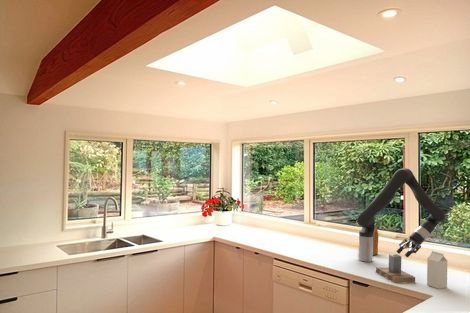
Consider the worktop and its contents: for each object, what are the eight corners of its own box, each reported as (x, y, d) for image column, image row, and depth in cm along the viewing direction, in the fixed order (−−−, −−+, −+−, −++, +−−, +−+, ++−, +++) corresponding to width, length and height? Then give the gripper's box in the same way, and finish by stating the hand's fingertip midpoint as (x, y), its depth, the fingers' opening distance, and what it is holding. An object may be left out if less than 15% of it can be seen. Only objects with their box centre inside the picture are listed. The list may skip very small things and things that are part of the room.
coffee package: (365, 250, 279) (365, 223, 280) (379, 254, 270) (380, 225, 270) (358, 252, 273) (358, 224, 274) (373, 256, 264) (373, 226, 264)
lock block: (388, 270, 216) (388, 253, 217) (396, 270, 217) (396, 253, 217) (393, 273, 212) (393, 255, 212) (401, 273, 212) (401, 255, 212)
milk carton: (438, 289, 195) (439, 254, 195) (426, 284, 201) (427, 251, 202) (447, 287, 198) (447, 253, 198) (435, 283, 204) (436, 250, 204)
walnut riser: (375, 272, 223) (375, 267, 223) (394, 271, 225) (395, 267, 225) (394, 282, 203) (394, 277, 203) (415, 282, 205) (415, 277, 205)
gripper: (408, 229, 223) (391, 247, 222) (423, 233, 209) (404, 253, 208) (416, 237, 224) (398, 255, 222) (431, 242, 210) (413, 262, 208)
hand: (401, 254), depth 215 cm, fingers open, 8 cm apart
